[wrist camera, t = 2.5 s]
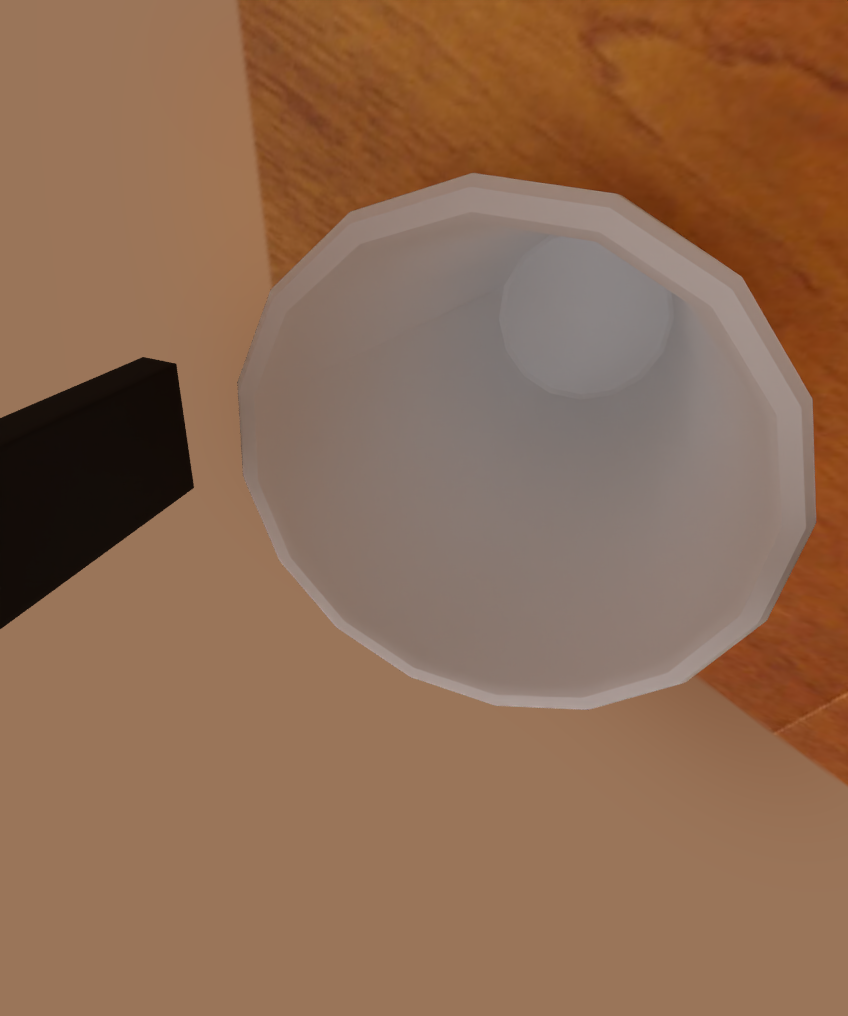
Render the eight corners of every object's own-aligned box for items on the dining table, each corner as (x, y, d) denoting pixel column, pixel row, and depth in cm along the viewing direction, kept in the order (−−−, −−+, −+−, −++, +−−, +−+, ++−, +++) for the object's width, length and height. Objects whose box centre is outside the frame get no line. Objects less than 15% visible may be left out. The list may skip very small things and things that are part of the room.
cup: (655, 493, 24) (627, 790, 14) (409, 386, 25) (207, 581, 15) (827, 212, 18) (1011, 346, 8) (498, 92, 20) (271, 64, 9)
